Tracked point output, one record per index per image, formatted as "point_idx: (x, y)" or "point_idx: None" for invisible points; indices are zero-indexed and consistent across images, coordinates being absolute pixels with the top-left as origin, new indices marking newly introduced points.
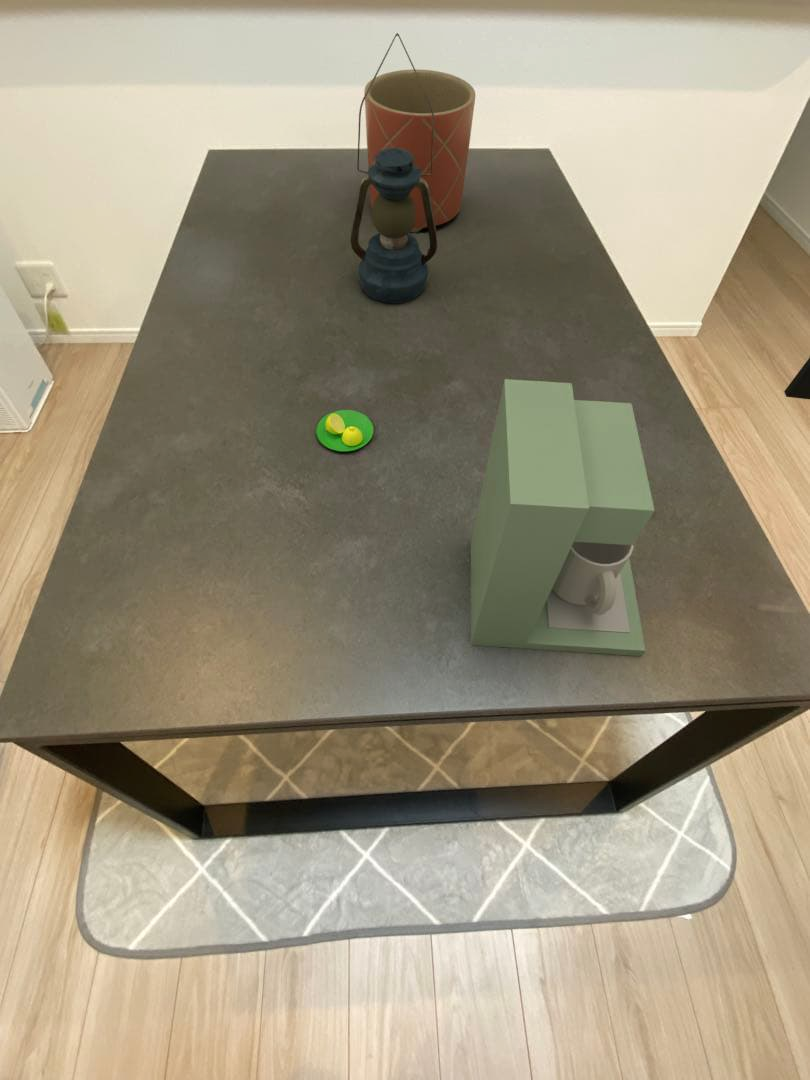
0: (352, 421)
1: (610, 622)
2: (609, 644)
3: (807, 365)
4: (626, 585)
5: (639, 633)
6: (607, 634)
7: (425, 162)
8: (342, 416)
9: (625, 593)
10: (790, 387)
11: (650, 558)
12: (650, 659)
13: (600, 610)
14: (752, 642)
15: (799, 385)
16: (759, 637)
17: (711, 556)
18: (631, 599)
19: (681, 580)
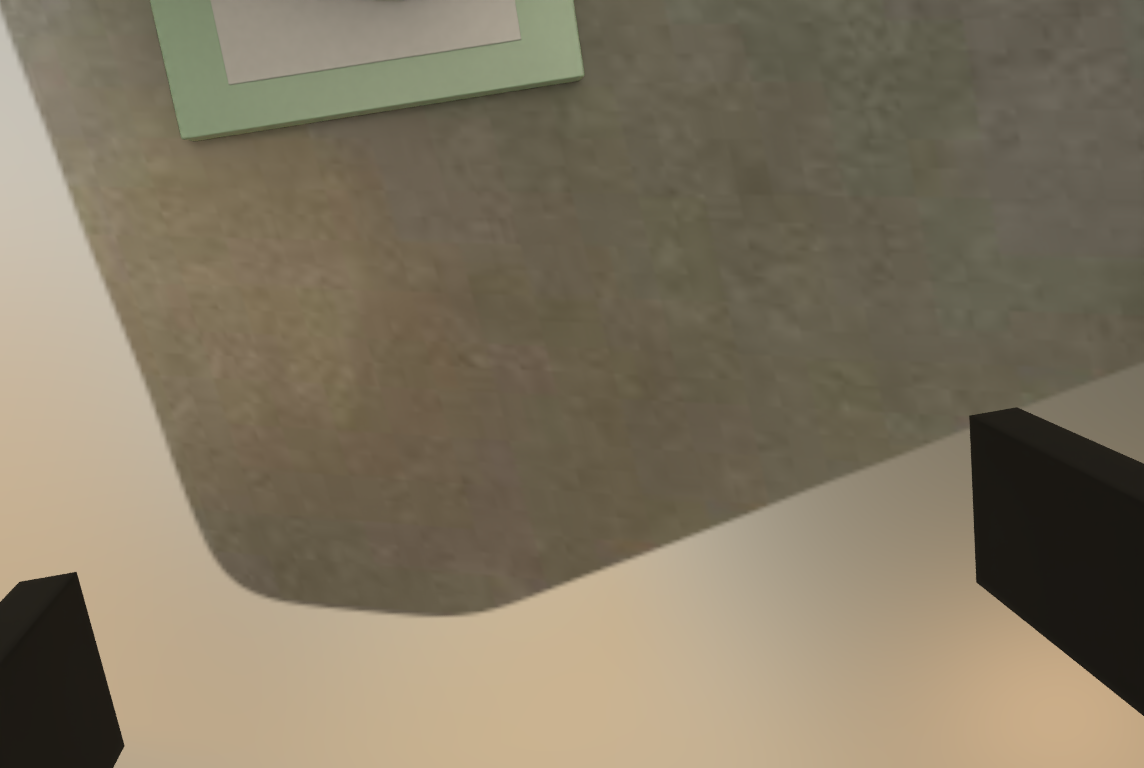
0: None
1: (248, 17)
2: (168, 18)
3: (1139, 483)
4: (412, 73)
5: (238, 118)
6: (202, 9)
7: None
8: None
9: (379, 70)
10: (1023, 427)
11: (573, 175)
12: (192, 171)
13: None
14: (341, 477)
15: (1022, 468)
16: (364, 498)
17: (627, 374)
18: (362, 91)
19: (510, 275)
